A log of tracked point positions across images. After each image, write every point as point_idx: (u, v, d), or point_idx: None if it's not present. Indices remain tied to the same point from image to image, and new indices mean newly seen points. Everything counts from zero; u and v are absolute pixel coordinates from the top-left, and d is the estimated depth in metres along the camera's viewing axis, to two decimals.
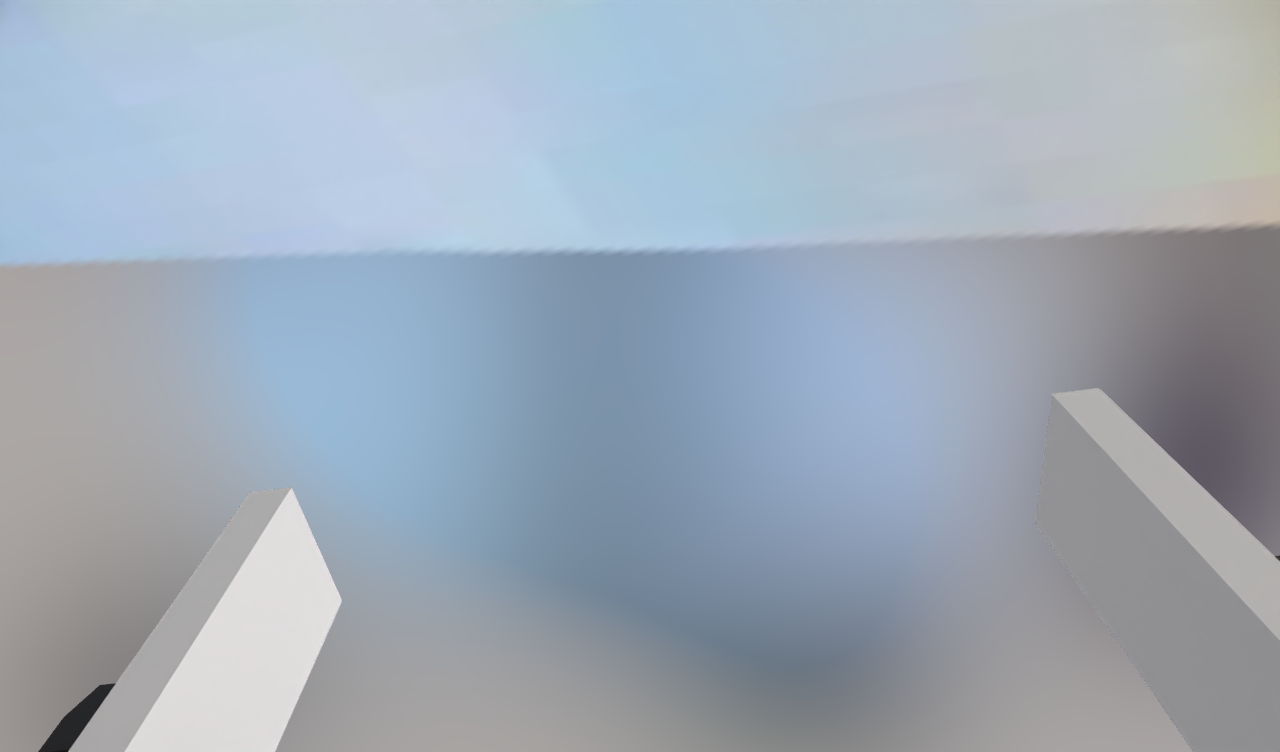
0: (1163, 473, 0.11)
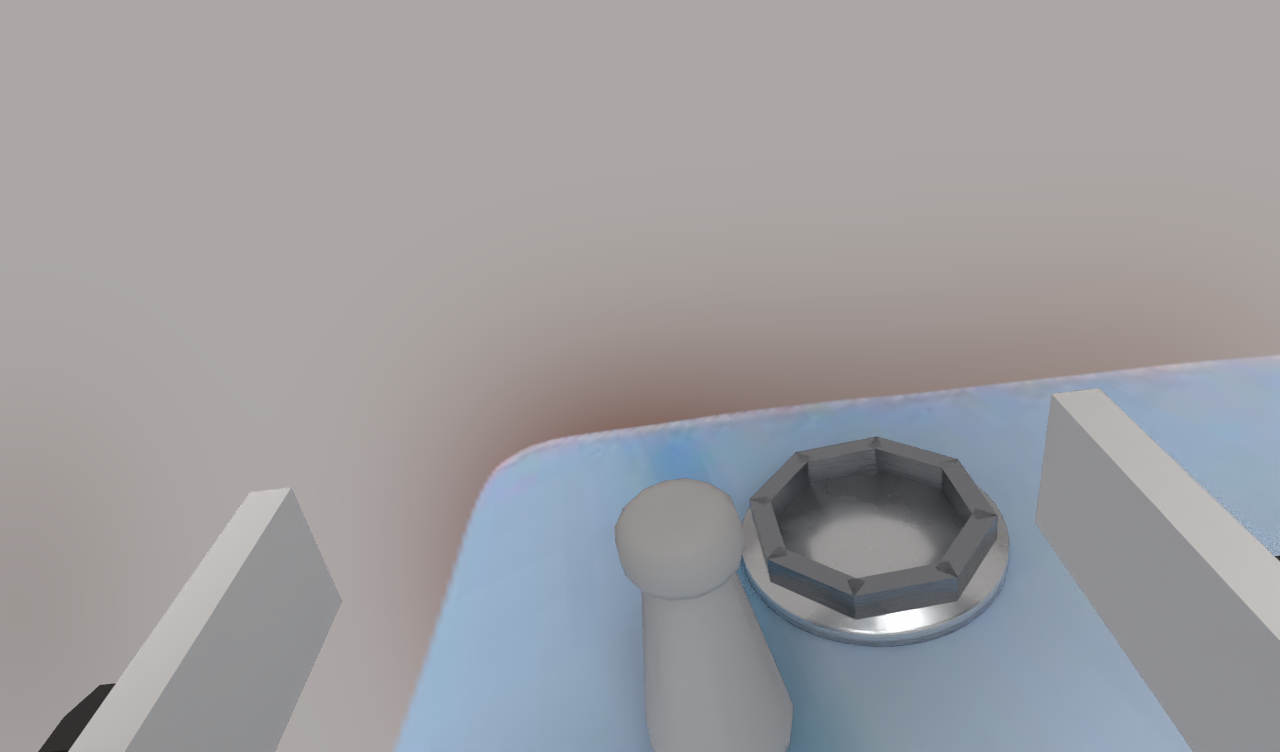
0: (1163, 473, 0.11)
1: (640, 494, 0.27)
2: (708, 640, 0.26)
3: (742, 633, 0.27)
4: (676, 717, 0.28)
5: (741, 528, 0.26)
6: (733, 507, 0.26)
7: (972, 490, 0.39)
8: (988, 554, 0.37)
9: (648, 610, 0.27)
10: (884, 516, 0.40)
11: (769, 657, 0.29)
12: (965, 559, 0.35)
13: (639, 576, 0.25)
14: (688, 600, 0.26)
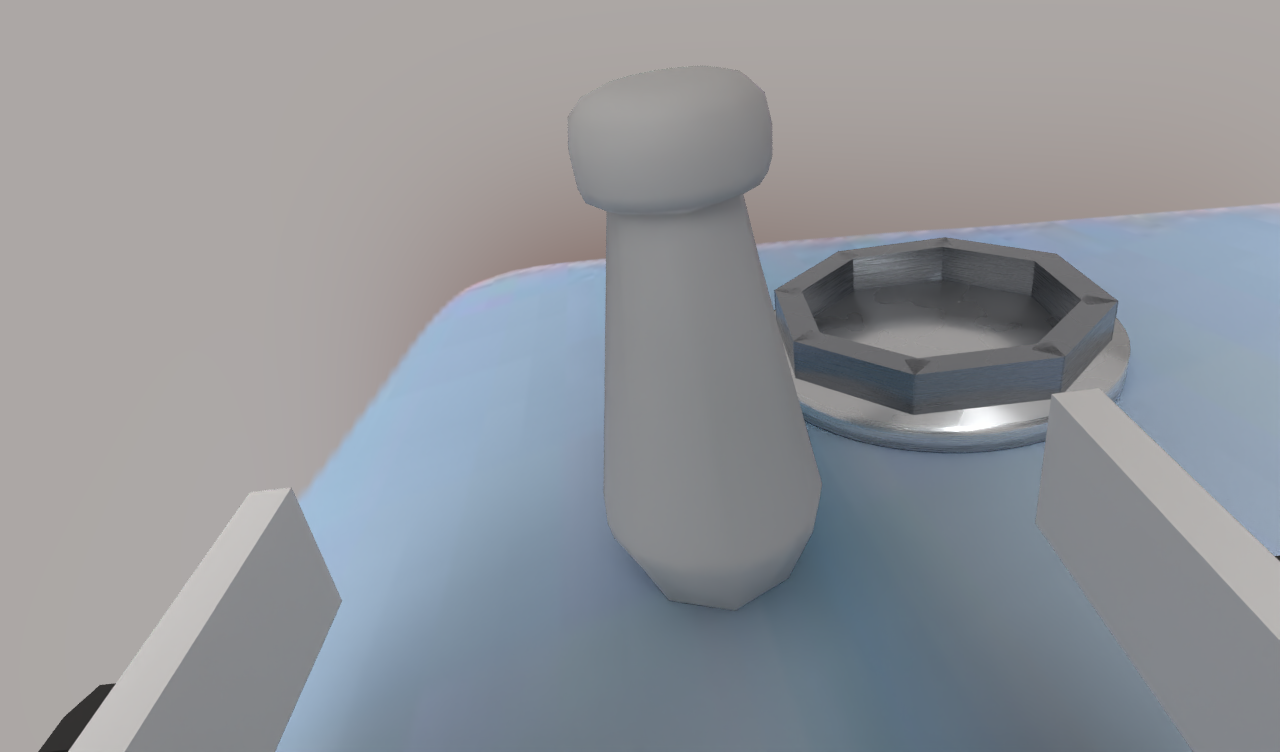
0: (1163, 473, 0.11)
1: None
2: (702, 306, 0.16)
3: (755, 316, 0.17)
4: (644, 453, 0.18)
5: (769, 120, 0.16)
6: (758, 87, 0.16)
7: (1079, 279, 0.28)
8: (1101, 354, 0.27)
9: (613, 276, 0.18)
10: (953, 319, 0.30)
11: (793, 388, 0.19)
12: (1075, 340, 0.25)
13: (596, 165, 0.15)
14: (674, 229, 0.16)
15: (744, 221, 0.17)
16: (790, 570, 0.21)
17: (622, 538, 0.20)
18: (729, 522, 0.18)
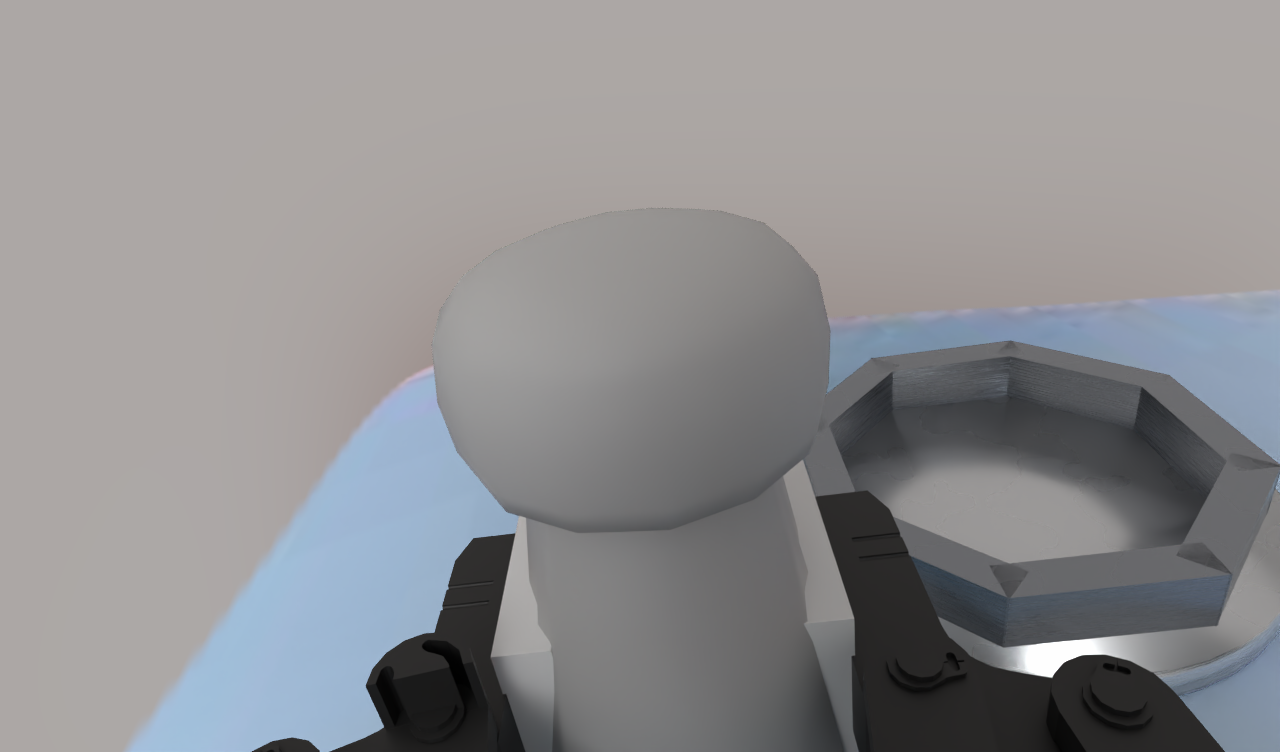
0: None
1: (531, 235, 0.09)
2: (698, 673, 0.09)
3: (795, 659, 0.09)
4: None
5: (826, 328, 0.08)
6: (805, 262, 0.08)
7: (1214, 423, 0.21)
8: (1258, 540, 0.19)
9: (536, 574, 0.10)
10: (1033, 465, 0.23)
11: None
12: (1239, 541, 0.17)
13: (478, 442, 0.07)
14: (642, 543, 0.08)
15: (776, 505, 0.09)
16: None
17: None
18: None
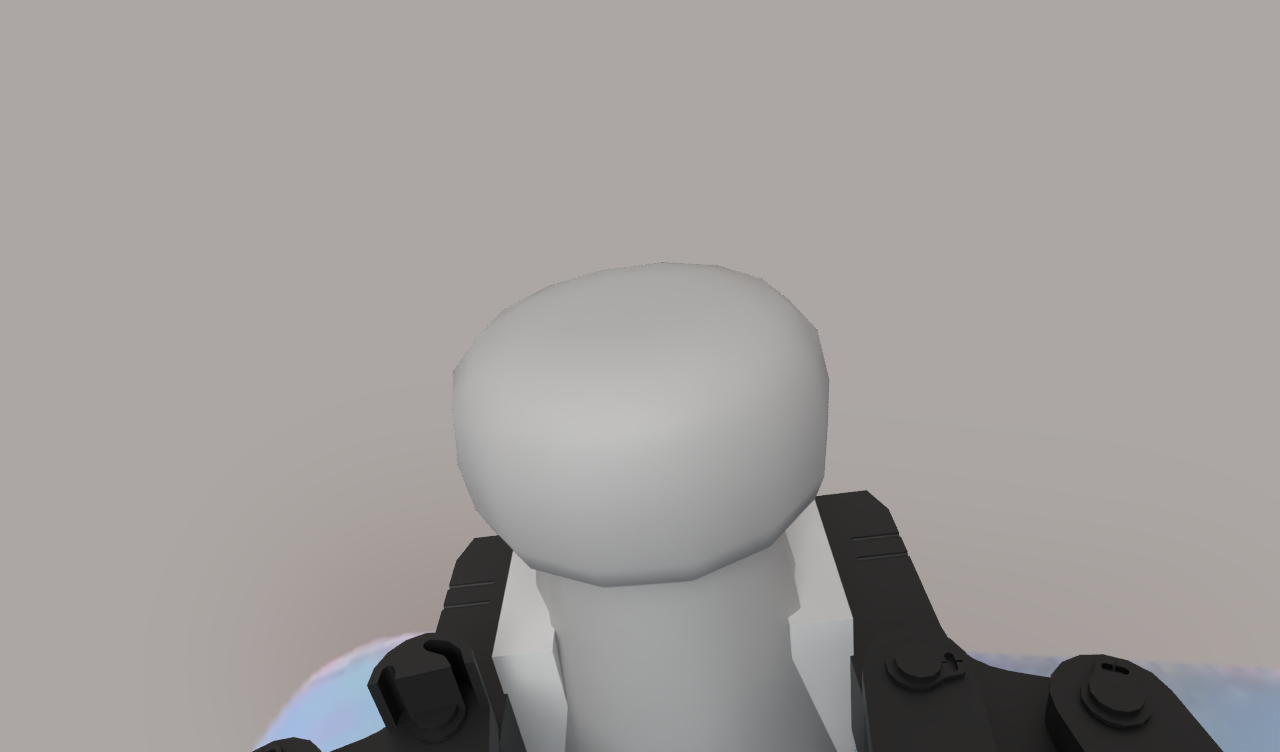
0: None
1: (536, 293, 0.10)
2: (715, 710, 0.09)
3: (802, 690, 0.10)
4: None
5: (826, 379, 0.09)
6: (804, 317, 0.09)
7: None
8: None
9: None
10: None
11: None
12: None
13: (507, 505, 0.08)
14: (661, 591, 0.09)
15: (782, 545, 0.09)
16: None
17: None
18: None
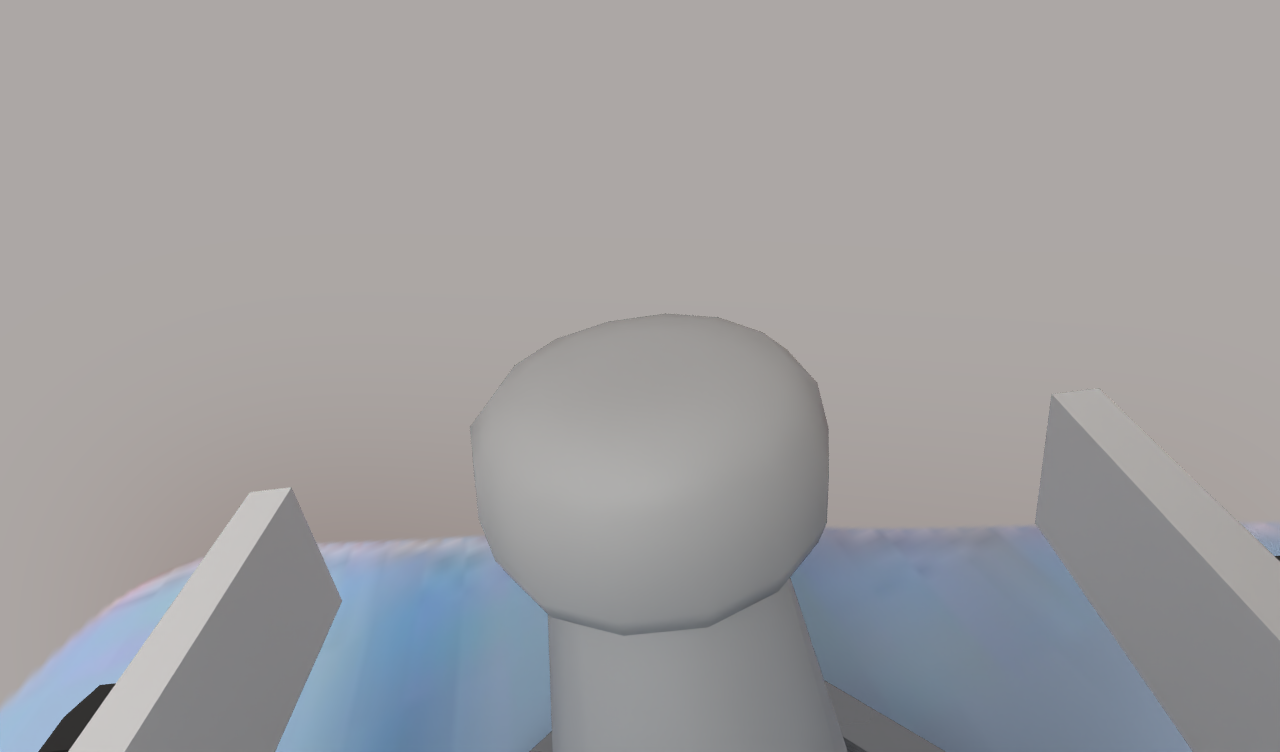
0: (1163, 473, 0.11)
1: (546, 347, 0.10)
2: (726, 744, 0.09)
3: (807, 719, 0.10)
4: None
5: (826, 429, 0.09)
6: (804, 370, 0.09)
7: None
8: None
9: (563, 660, 0.10)
10: None
11: None
12: None
13: (531, 560, 0.08)
14: (675, 634, 0.09)
15: (786, 584, 0.10)
16: None
17: None
18: None
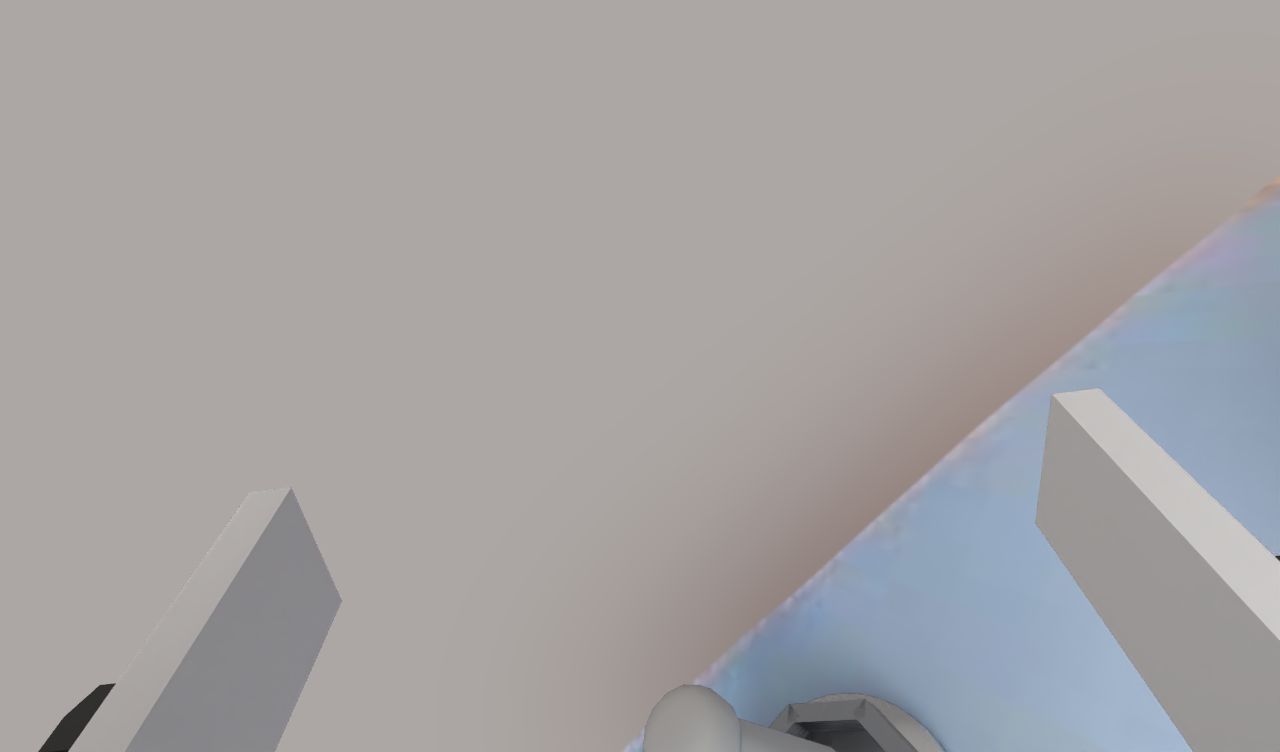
0: (1163, 473, 0.11)
1: (645, 732, 0.34)
2: None
3: None
4: None
5: (722, 702, 0.33)
6: (707, 693, 0.33)
7: (893, 739, 0.38)
8: None
9: None
10: None
11: (808, 750, 0.36)
12: None
13: None
14: None
15: (744, 738, 0.33)
16: None
17: None
18: None
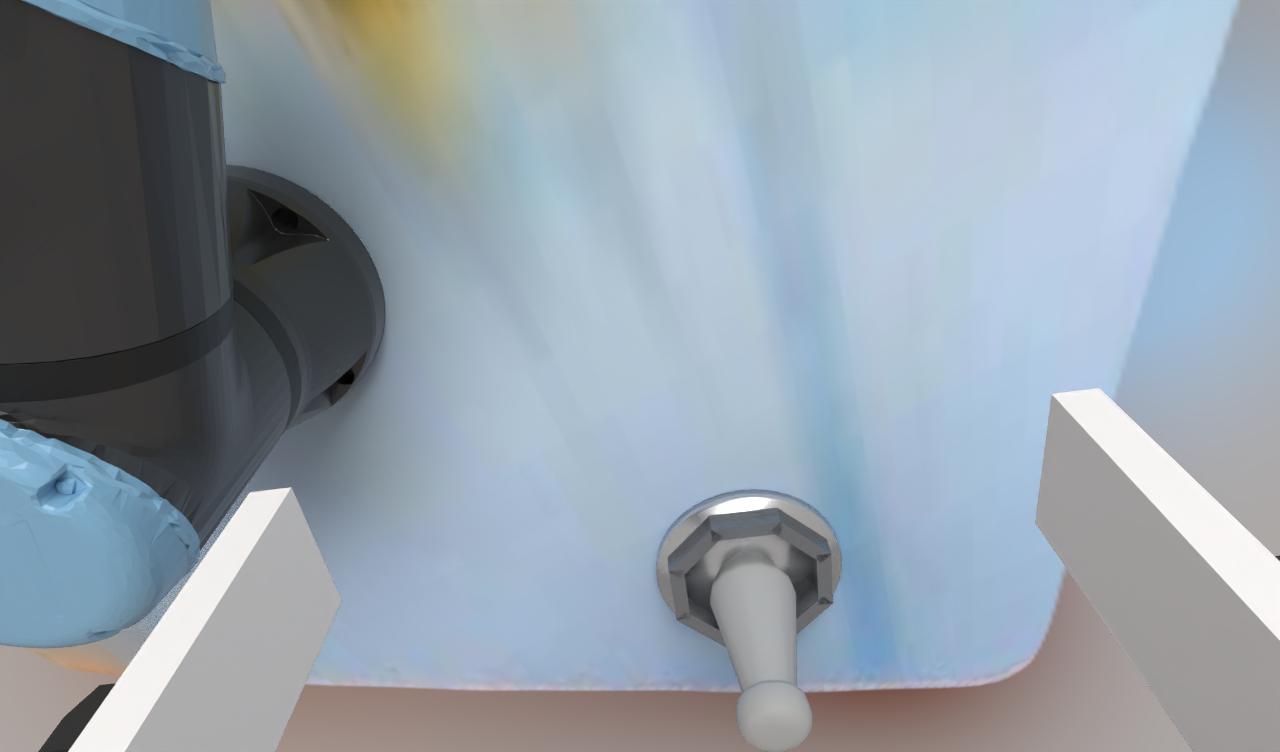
0: (1163, 473, 0.11)
1: (798, 743, 0.45)
2: (755, 653, 0.47)
3: (737, 654, 0.48)
4: (774, 603, 0.50)
5: (737, 721, 0.45)
6: (741, 734, 0.45)
7: (676, 593, 0.54)
8: (677, 546, 0.54)
9: (792, 668, 0.47)
10: None
11: (722, 635, 0.51)
12: (701, 541, 0.52)
13: (794, 695, 0.44)
14: (767, 678, 0.46)
15: (743, 686, 0.46)
16: (719, 569, 0.55)
17: (783, 574, 0.52)
18: (742, 581, 0.51)
